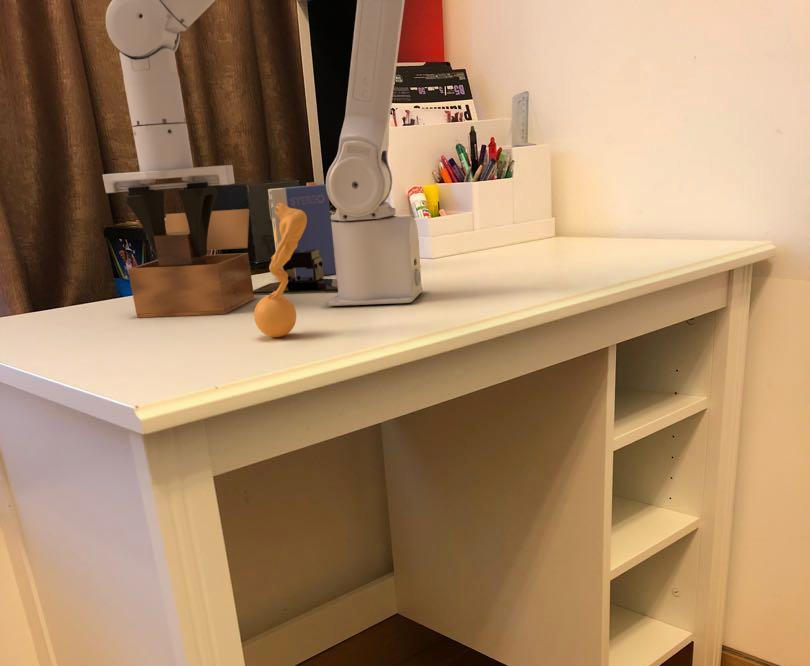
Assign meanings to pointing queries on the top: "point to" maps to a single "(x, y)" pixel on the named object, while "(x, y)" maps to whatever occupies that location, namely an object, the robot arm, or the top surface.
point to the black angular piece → (303, 284)
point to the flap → (217, 228)
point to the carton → (192, 287)
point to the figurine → (281, 276)
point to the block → (176, 250)
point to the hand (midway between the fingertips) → (181, 257)
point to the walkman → (317, 226)
